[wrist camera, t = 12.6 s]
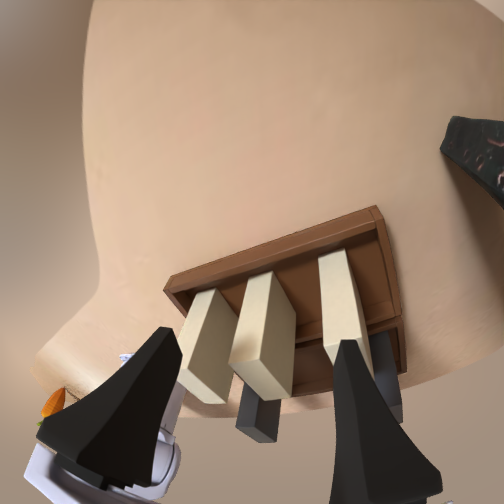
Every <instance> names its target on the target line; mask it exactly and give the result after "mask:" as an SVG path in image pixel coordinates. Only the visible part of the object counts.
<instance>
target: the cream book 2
mask: <svg viewBox="0 0 504 504" xmlns="http://www.w3.org/2000/svg"><path fill="white" fill-rule="evenodd" d="M295 329H296V312H295V311H294V309H293V307H292V305H291V303H290V301H289V300H288V298H287V296H286V294H285V292H284V290H283V289H282V287H281V285H280V283H279V281H278V280H277V278H276V276H275V274H274V272H273V270H271V271H268V272H264V273H261V274H258V275H255V276H251V277H249V279H248V284H247V288H246V292H245V296H244V300H243V304H242V308H241V312H240V317H239V321H238V325H237V329H236V333H235V337H234V341H233V345H232V349H231V353H230V358H229V362H228V364H229V365H230V366H231V367H232V368H233V370H234V371H235V372H236V373H237V374H238V375H239V376H240V377H241V378H242V379H243V380H244V381H245V382H246V383H247V384H248V385H249V386H250V387H251V388H252V389H253V390H254V391H255V392H256V393H257V394H258V395H259V396H260V397H261V398H262V399H263V400H264V401H267V400H276V399H285V398H291V394H292V381H293V366H294V349H295Z"/></svg>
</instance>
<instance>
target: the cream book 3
mask: <svg viewBox="0 0 504 504" xmlns="http://www.w3.org/2000/svg"><path fill="white" fill-rule="evenodd" d="M318 262H319V274H320V287H321V302H322V320H323V343H324V348H325V350H326V352H327V354H328V356H329V358H330V360H331V362H332V364H333V366H334V362H335V359H336V355H337V352H338V348H339V345H340V341H341V339H355V340H357V342H358V345H359V348H360V350H361V353H362V355H363V358H364V360H365V362H366V365H367V367H368V369H369V371H370V373H371V375H372V377H373V379H374V372H373V365H372V359H371V352H370V346H369V340H368V335H367V329H366V324H365V318H364V313H363V308H362V304H361V299H360V295H359V291H358V288H357V285H356V282H355V278H354V275H353V272H352V269H351V266H350V263H349V260H348V257H347V254H346V251H345V248H340V249H337V250H334V251H331V252H328V253H325V254H322V255H319V256H318ZM374 381H375V380H374Z"/></svg>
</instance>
